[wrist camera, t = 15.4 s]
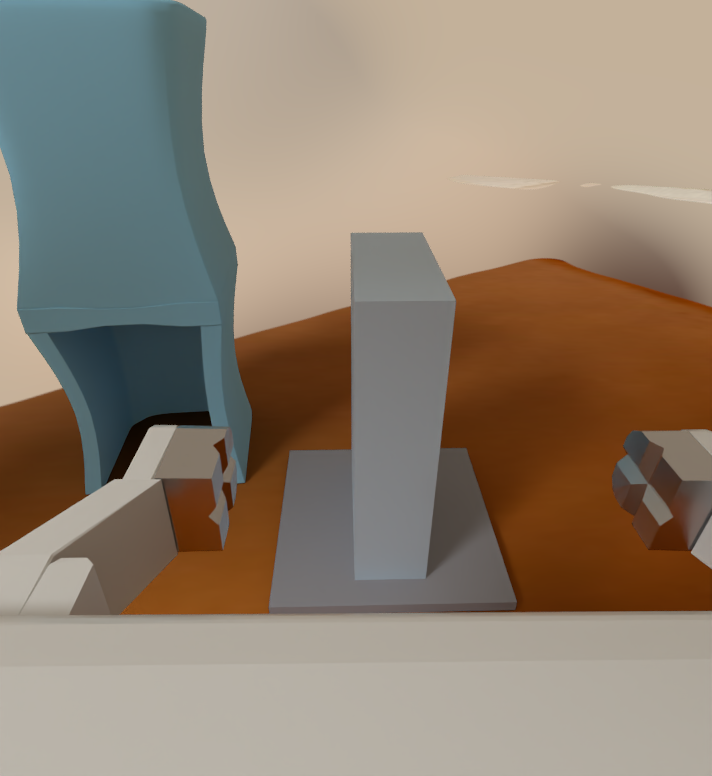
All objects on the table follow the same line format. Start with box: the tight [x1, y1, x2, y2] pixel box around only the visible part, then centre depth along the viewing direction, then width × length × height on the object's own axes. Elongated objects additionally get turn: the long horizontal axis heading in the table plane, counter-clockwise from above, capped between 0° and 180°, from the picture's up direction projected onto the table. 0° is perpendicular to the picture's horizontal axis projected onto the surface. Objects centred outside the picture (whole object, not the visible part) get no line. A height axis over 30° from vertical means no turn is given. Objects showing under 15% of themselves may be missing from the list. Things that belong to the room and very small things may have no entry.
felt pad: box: [269, 448, 517, 614], centre depth 30 cm, size 12×12×1 cm
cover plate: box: [351, 233, 456, 580], centre depth 26 cm, size 4×9×15 cm, turn 1°
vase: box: [0, 0, 252, 494], centre depth 30 cm, size 10×10×25 cm
